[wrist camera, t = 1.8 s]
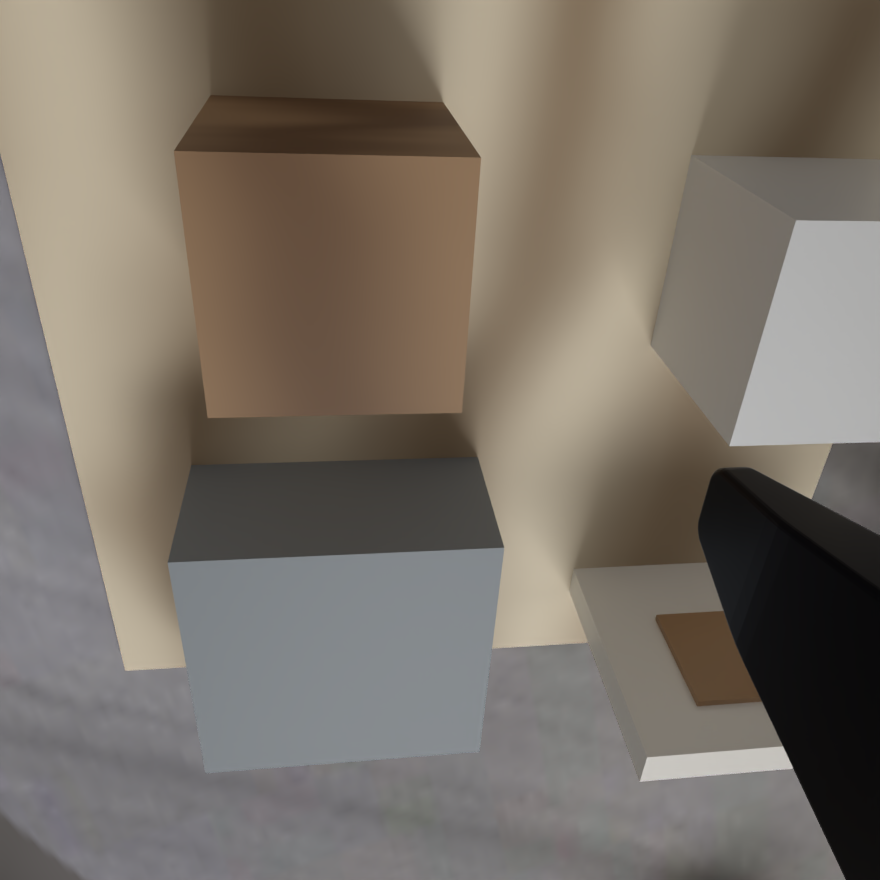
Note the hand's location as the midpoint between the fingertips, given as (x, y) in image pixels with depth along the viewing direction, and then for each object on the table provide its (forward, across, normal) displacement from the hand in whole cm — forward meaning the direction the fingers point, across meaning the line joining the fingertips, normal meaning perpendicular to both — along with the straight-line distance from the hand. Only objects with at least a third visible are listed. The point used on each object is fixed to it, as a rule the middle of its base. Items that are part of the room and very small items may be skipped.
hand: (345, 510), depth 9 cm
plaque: (+11, -11, +12) cm, 20 cm away
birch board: (+12, -4, +5) cm, 13 cm away
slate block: (+11, 0, +11) cm, 16 cm away
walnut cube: (+11, 0, 0) cm, 11 cm away
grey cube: (+11, -11, +1) cm, 16 cm away
